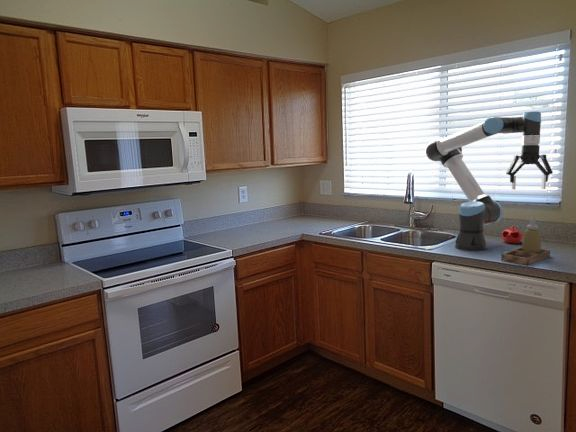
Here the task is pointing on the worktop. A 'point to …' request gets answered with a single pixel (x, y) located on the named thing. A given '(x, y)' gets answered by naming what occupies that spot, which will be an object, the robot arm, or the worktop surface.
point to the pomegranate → (512, 235)
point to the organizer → (524, 256)
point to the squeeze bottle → (532, 238)
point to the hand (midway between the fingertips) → (528, 189)
